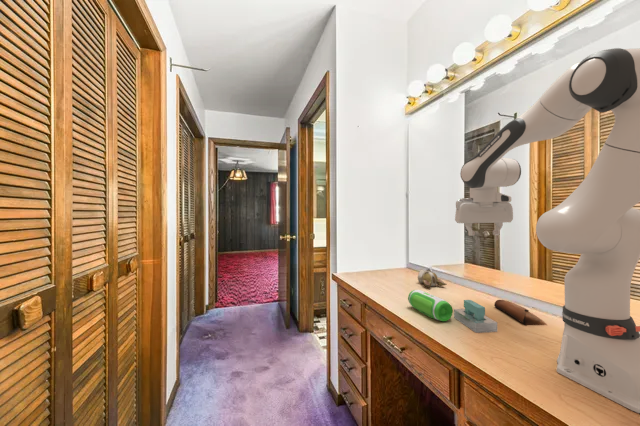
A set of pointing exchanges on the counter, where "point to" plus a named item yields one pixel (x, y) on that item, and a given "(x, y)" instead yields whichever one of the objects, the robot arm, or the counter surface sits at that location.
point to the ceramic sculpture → (429, 278)
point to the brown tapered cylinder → (518, 313)
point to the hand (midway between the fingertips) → (483, 235)
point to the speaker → (430, 305)
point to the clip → (474, 309)
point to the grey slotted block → (475, 322)
